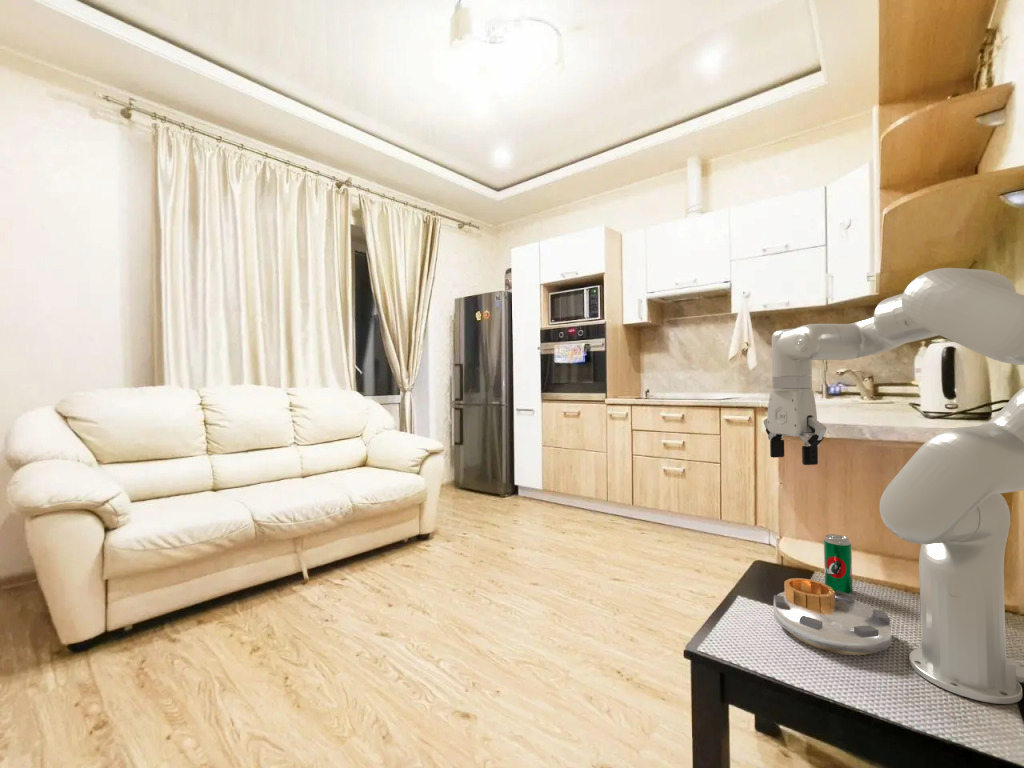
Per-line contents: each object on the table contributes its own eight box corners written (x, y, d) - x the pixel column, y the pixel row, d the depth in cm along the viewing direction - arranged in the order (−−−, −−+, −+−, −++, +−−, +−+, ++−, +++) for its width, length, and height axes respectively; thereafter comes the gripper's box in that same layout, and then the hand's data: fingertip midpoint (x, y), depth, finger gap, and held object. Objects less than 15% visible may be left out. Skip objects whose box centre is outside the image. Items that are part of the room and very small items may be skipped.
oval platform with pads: (872, 611, 90) (871, 585, 90) (908, 662, 73) (907, 631, 73) (768, 596, 97) (768, 572, 97) (780, 639, 81) (779, 611, 81)
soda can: (857, 596, 99) (856, 541, 99) (832, 595, 100) (831, 540, 100) (844, 586, 104) (843, 534, 104) (820, 585, 105) (819, 533, 105)
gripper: (750, 384, 109) (752, 455, 109) (806, 384, 92) (808, 468, 92) (779, 384, 110) (780, 454, 110) (839, 384, 93) (840, 467, 93)
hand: (792, 460), depth 101 cm, fingers open, 9 cm apart
